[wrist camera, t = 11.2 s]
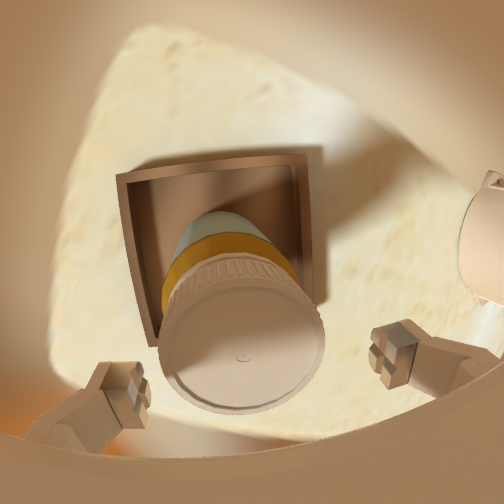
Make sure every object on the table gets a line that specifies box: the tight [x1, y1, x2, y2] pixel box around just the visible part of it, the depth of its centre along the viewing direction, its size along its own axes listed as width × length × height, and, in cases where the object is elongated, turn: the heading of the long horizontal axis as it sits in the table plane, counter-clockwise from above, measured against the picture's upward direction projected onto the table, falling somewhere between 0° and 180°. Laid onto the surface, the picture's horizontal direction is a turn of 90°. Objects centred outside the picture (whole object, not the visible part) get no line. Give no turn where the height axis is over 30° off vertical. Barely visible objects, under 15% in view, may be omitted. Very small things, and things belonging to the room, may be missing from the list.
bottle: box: [158, 211, 325, 415], centre depth 17 cm, size 7×7×15 cm
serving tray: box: [116, 154, 313, 347], centre depth 24 cm, size 15×15×2 cm
